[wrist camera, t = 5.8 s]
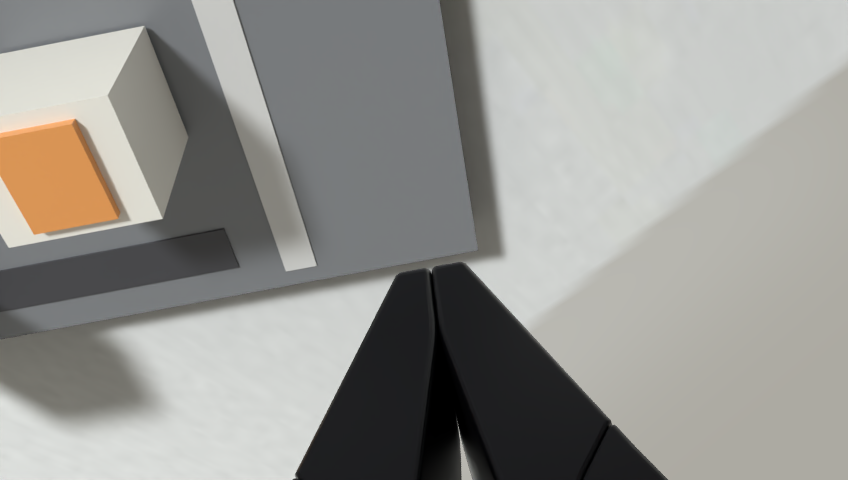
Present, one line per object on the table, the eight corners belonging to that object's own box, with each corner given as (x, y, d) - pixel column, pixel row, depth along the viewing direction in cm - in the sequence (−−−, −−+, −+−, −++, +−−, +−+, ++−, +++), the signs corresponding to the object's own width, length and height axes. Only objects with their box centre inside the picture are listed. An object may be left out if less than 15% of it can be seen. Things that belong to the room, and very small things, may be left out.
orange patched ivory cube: (144, 25, 16) (104, 101, 13) (188, 137, 17) (160, 225, 15) (0, 54, 16) (-69, 134, 13) (57, 162, 17) (4, 254, 15)
